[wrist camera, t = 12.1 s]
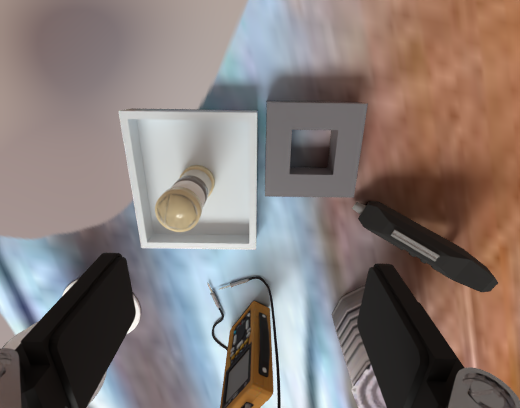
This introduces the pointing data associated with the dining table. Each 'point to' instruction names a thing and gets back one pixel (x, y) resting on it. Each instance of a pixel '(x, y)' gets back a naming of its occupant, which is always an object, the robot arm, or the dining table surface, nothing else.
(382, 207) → the gun
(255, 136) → the parts tray
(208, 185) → the cylinder
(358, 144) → the grey flat square block
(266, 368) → the multimeter
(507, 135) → the dining table surface
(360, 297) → the can
